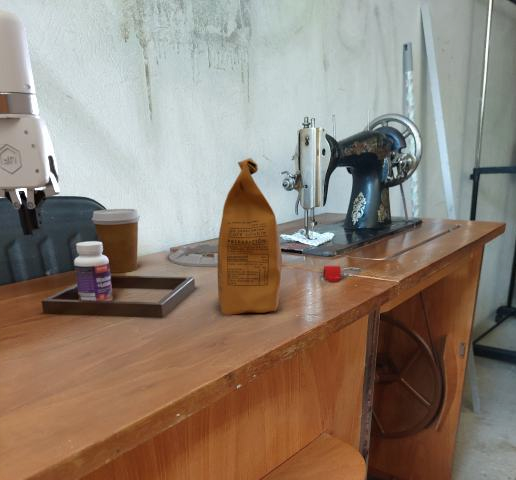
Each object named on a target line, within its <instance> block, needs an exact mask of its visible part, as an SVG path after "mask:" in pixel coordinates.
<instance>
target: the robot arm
mask: <svg viewBox="0 0 516 480" xmlns="http://www.w3.org/2000/svg"><path fill="white" fill-rule="evenodd" d="M23 21H24V20H22V18H21V17H20V16H18V15H17V14H16V13H13V12H10V11H7V10H2V9H0V198H4V199H7V201H9V202H10V203H11V204H12V206H13V208H14V209H15V210H17V212H18V216H19V217H18V218H19V221H20V223H19V224H20V226H21V229H22V233H23V235H24V236H36V235H39V234H43V233H44V219H43V218H44V217H43V212H42V208H43V207H44V206H45V202H46V201H47V199H48V198H51V197H54V196H57V195H59V194H60V193H61V191H60V188H59V185H58V183H59V180H60V178H59V169H58V164H57V158H56V153H55V150H54V145H53V142H52V139H51V135H50V132H49V129H48V127H47V124H46V121H45V119H44V118H43V117H42V118H41V115H40V109H39V103H38V97H37V89H36V85H35V84H36V83H35V79H34V73H33V67H32V60H31V56H30V54H31V53H30V48H29V42H28V35H27V30H26V26H25V23H24V22H23Z"/></svg>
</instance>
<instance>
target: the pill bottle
mask: <svg viewBox="0 0 516 480" xmlns="http://www.w3.org/2000/svg"><path fill="white" fill-rule="evenodd" d="M75 246H76V253H77V254H78V256H77V257H75V259H74V260H73V266H74V273H75V278H76V279H75V281H76V283H77V287H78V295H79V298H78V300H92V301H113V298H114V295H113V294H114V293H113V288H112V285H111V277H110V275H111V272H110V268H109V260H108V258H107V257H106V256H105V255H103V254H102V252H103V246H102V242H99V241H97V240H91V241H81V242H77V243H76V244H75Z"/></svg>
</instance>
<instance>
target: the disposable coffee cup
mask: <svg viewBox="0 0 516 480" xmlns="http://www.w3.org/2000/svg"><path fill="white" fill-rule="evenodd" d="M140 217H141V216H140V215H139V213H138V210H137V209H135V208H110V209H109V208H107V209H100V210H95V211H93V212H92V218H91V221H92V222H93V224H94V226H95V227H94V228H95V231H96V235H97V238H98V239H97V240H98V242H102V246H103V252H102V255H105V256H106V257H107V258H108V260H109V268H110V273H116V274H119V273H129V272H134V271H136V270H138V247H139V246H138V245H139V243H138V242H139V240H138V239H139V222H140Z"/></svg>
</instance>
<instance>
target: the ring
mask: <svg viewBox="0 0 516 480" xmlns="http://www.w3.org/2000/svg"><path fill="white" fill-rule="evenodd" d="M203 253H215V254H213V257H203ZM169 262H171V263H173V264H175V265H181V266H187V267H218V245H216V246H215V245H214V246H213V245H212V246H211V243H209V242H207V243H197V244H196V246H195V247H192V248H191V246H190V245H187V246H183V247H181V248H179V249H177V250H175V252H173V253H172V254H170V255H169Z"/></svg>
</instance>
